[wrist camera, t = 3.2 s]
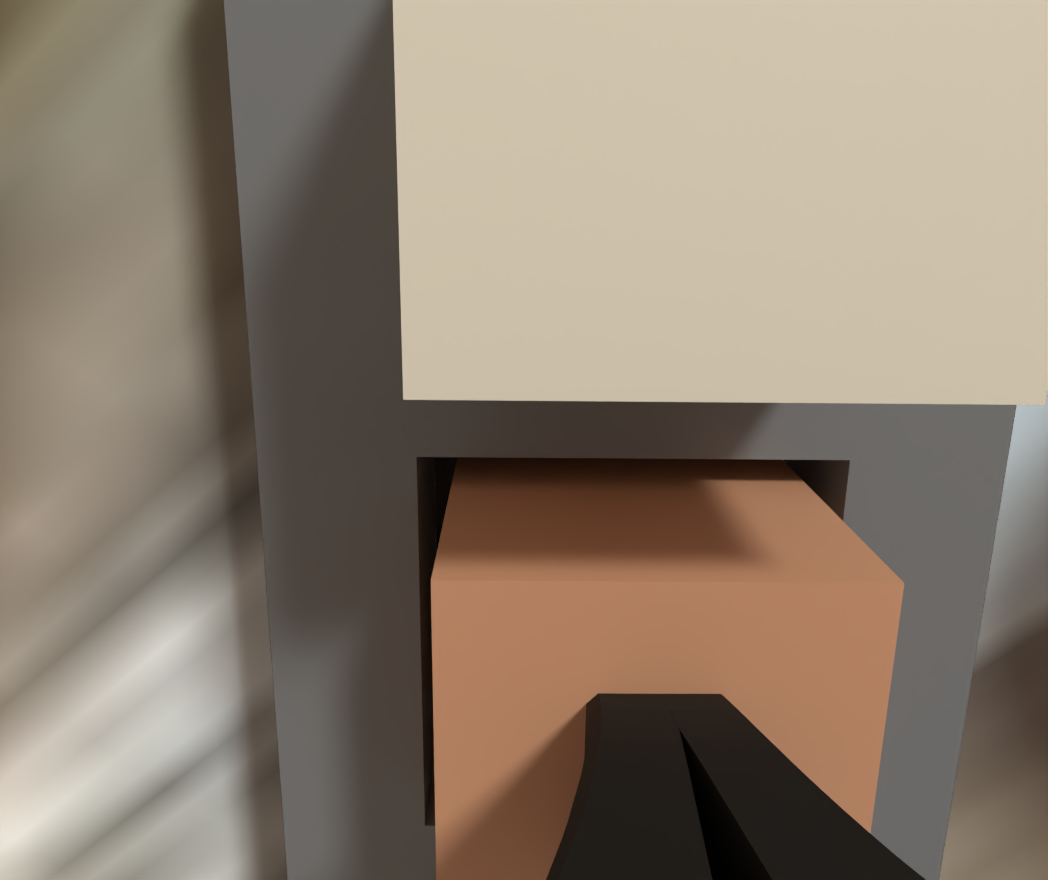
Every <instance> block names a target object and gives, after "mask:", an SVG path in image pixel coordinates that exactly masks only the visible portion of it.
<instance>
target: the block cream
mask: <svg viewBox="0 0 1048 880" xmlns="http://www.w3.org/2000/svg"><path fill="white" fill-rule="evenodd" d="M393 32H394V70H395V108H396V146H397V184H398V222H399V260H400V298H401V336H402V374H403V400H499V401H621V402H743V403H865V404H987V405H1045V402H1046V397H1047V391H1048V0H393Z"/></svg>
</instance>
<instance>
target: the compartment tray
mask: <svg viewBox="0 0 1048 880" xmlns="http://www.w3.org/2000/svg"><path fill="white" fill-rule="evenodd" d="M224 12H225V26H226V40H227V53H228V67H229V81H230V95H231V108H232V122H233V136H234V150H235V163H236V177H237V191H238V205H239V218H240V232H241V246H242V260H243V273H244V287H245V301H246V315H247V328H248V342H249V356H250V370H251V383H252V397H253V411H254V425H255V438H256V452H257V466H258V480H259V494H260V507H261V521H262V535H263V549H264V562H265V576H266V590H267V604H268V617H269V631H270V645H271V659H272V672H273V686H274V700H275V714H276V727H277V741H278V755H279V769H280V782H281V796H282V810H283V824H284V837H285V851H286V865H287V879H288V880H436V833H435V780H434V727H433V674H432V620H431V577H432V572H433V568H434V563H435V558H436V500H435V457H495V458H630V459H765V460H786V464H787V465H788V466H789V467H790V468H791V469H792V470H793V471H794V472H795V473H796V474H797V475H798V476H799V477H800V478H801V479H802V480H803V481H804V482H805V483H806V484H807V485H808V486H809V487H810V488H811V489H812V490H813V491H814V492H815V493H816V494H817V495H818V496H819V497H820V498H821V499H822V500H823V501H824V502H825V503H826V504H827V505H828V506H829V507H830V508H831V509H832V510H833V511H834V512H835V514H836V515H837V516H838V517H839V518H840V519H841V520H842V521H843V522H844V523H845V524H846V525H847V526H848V527H849V528H850V529H851V530H852V531H853V532H854V533H855V534H856V535H857V536H858V537H859V538H860V539H861V540H862V541H863V542H864V543H865V544H866V545H867V546H868V547H869V548H870V549H871V550H872V551H873V552H874V553H875V554H876V555H877V556H878V557H879V558H880V559H881V560H882V561H883V562H884V563H885V564H886V565H887V566H888V567H889V568H890V569H891V570H892V571H893V572H894V573H895V574H896V575H897V576H898V577H899V578H900V579H901V580H902V581H903V582H904V591H903V598H902V605H901V613H900V620H899V627H898V635H897V642H896V649H895V657H894V664H893V671H892V679H891V686H890V693H889V701H888V708H887V715H886V723H885V730H884V737H883V745H882V752H881V760H880V767H879V774H878V782H877V789H876V796H875V804H874V811H873V818H872V826H871V833H870V834H872V835H873V836H874V837H875V838H876V839H877V840H878V841H880V842H881V843H882V844H883V845H884V846H885V847H887V848H888V849H889V850H890V851H891V852H892V853H894V854H895V855H896V856H897V857H898V858H900V859H901V860H902V861H903V862H905V863H906V864H907V865H908V866H910V867H911V868H912V869H913V870H915V871H916V872H917V873H918V874H919V875H921V876H922V877H923V878H924V879H926V880H939V876H940V870H941V864H942V858H943V852H944V846H945V839H946V833H947V827H948V821H949V815H950V809H951V803H952V797H953V790H954V784H955V778H956V772H957V766H958V760H959V754H960V748H961V741H962V735H963V729H964V723H965V717H966V711H967V705H968V699H969V692H970V686H971V680H972V674H973V668H974V662H975V656H976V649H977V643H978V637H979V631H980V625H981V619H982V613H983V607H984V600H985V594H986V588H987V582H988V576H989V570H990V564H991V558H992V551H993V545H994V539H995V533H996V527H997V521H998V515H999V509H1000V502H1001V496H1002V490H1003V484H1004V478H1005V472H1006V466H1007V459H1008V453H1009V447H1010V441H1011V435H1012V429H1013V423H1014V417H1015V410H1016V405H987V404H865V403H743V402H621V401H499V400H403V374H402V336H401V298H400V260H399V222H398V184H397V146H396V108H395V70H394V32H393V0H224Z"/></svg>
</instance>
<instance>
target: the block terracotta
mask: <svg viewBox="0 0 1048 880" xmlns="http://www.w3.org/2000/svg"><path fill="white" fill-rule="evenodd" d="M903 591H904V582H903V581H902V580H901V579H900V578H899V577H898V576H897V575H896V574H895V573H894V572H893V571H892V570H891V569H890V568H889V567H888V566H887V565H886V564H885V563H884V562H883V561H882V560H881V559H880V558H879V557H878V556H877V555H876V554H875V553H874V552H873V551H872V550H871V549H870V548H869V547H868V546H867V545H866V544H865V543H864V542H863V541H862V540H861V539H860V538H859V537H858V536H857V535H856V534H855V533H854V532H853V531H852V530H851V529H850V528H849V527H848V526H847V525H846V524H845V523H844V522H843V521H842V520H841V519H840V518H839V517H838V516H837V515H836V514H835V512H834V511H833V510H832V509H831V508H830V507H829V506H828V505H827V504H826V503H825V502H824V501H823V500H822V499H821V498H820V497H819V496H818V495H817V494H816V493H815V492H814V491H813V490H812V489H811V488H810V487H809V486H808V485H807V484H806V483H805V482H804V481H803V480H802V479H801V478H800V477H799V476H798V475H797V474H796V473H795V472H794V471H793V470H792V469H791V468H790V467H789V466H788V465H787V464H786V463H785V462H784V461H783V460H765V459H630V458H495V457H457V461H456V465H455V470H454V475H453V479H452V484H451V489H450V493H449V498H448V503H447V507H446V512H445V516H444V521H443V526H442V530H441V535H440V540H439V544H438V549H437V554H436V558H435V563H434V568H433V572H432V577H431V620H432V674H433V727H434V780H435V833H436V880H546V878H547V876H548V873H549V871H550V868H551V866H552V863H553V860H554V858H555V855H556V853H557V850H558V848H559V845H560V842H561V840H562V837H563V834H564V831H565V828H566V825H567V822H568V819H569V815H570V812H571V808H572V805H573V801H574V798H575V794H576V791H577V787H578V784H579V780H580V777H581V773H582V768H583V763H584V756H585V726H586V703H588V702H589V701H590V700H591V699H592V698H593V697H595V696H596V695H597V694H598V693H617V694H722V695H723V696H724V697H725V698H726V699H727V700H728V701H730V702H731V703H732V704H733V705H734V706H735V707H736V708H737V709H738V710H739V711H740V712H741V713H742V714H743V715H744V716H745V717H746V718H747V719H748V720H749V721H750V722H751V723H752V724H753V725H754V726H755V727H756V728H757V729H758V730H759V731H760V732H761V733H762V734H764V735H765V736H766V737H767V738H768V739H769V740H770V741H771V742H772V743H773V744H774V745H775V746H776V747H777V748H778V749H779V750H780V751H781V752H782V753H783V754H784V755H785V756H786V757H787V758H788V759H789V760H790V761H791V762H792V763H794V764H795V765H796V766H797V767H798V768H799V769H800V770H801V771H802V772H803V773H804V774H805V775H806V776H807V777H808V778H809V779H810V780H812V781H813V782H814V783H815V784H816V785H817V786H818V787H819V788H820V789H821V790H822V791H823V792H824V793H826V794H827V795H828V796H829V797H830V798H831V799H832V800H833V801H834V802H835V803H837V804H838V805H839V806H840V807H841V808H842V809H843V810H844V811H845V812H846V813H848V814H849V815H850V816H851V817H852V818H853V819H854V820H855V821H857V822H858V823H859V824H860V825H861V826H862V827H863V828H865V829H866V830H867V831H868V832H869V833H871V826H872V818H873V811H874V804H875V796H876V789H877V782H878V774H879V767H880V760H881V752H882V745H883V737H884V730H885V723H886V715H887V708H888V701H889V693H890V686H891V679H892V671H893V664H894V657H895V649H896V642H897V635H898V627H899V620H900V613H901V605H902V598H903Z"/></svg>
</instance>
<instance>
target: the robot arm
mask: <svg viewBox="0 0 1048 880" xmlns="http://www.w3.org/2000/svg"><path fill="white" fill-rule="evenodd" d="M546 880H926V879H924V878H923V877H922V876H921V875H919V874H918V873H917V872H916V871H915V870H913V869H912V868H911V867H910V866H908V865H907V864H906V863H905V862H903V861H902V860H901V859H900V858H898V857H897V856H896V855H895V854H894V853H892V852H891V851H890V850H889V849H888V848H887V847H885V846H884V845H883V844H882V843H881V842H880V841H878V840H877V839H876V838H875V837H874V836H873V835H872V834H870V833H869V832H868V831H867V830H866V829H865V828H863V827H862V826H861V825H860V824H859V823H858V822H857V821H855V820H854V819H853V818H852V817H851V816H850V815H849V814H848V813H846V812H845V811H844V810H843V809H842V808H841V807H840V806H839V805H838V804H837V803H835V802H834V801H833V800H832V799H831V798H830V797H829V796H828V795H827V794H826V793H824V792H823V791H822V790H821V789H820V788H819V787H818V786H817V785H816V784H815V783H814V782H813V781H812V780H810V779H809V778H808V777H807V776H806V775H805V774H804V773H803V772H802V771H801V770H800V769H799V768H798V767H797V766H796V765H795V764H794V763H792V762H791V761H790V760H789V759H788V758H787V757H786V756H785V755H784V754H783V753H782V752H781V751H780V750H779V749H778V748H777V747H776V746H775V745H774V744H773V743H772V742H771V741H770V740H769V739H768V738H767V737H766V736H765V735H764V734H762V733H761V732H760V731H759V730H758V729H757V728H756V727H755V726H754V725H753V724H752V723H751V722H750V721H749V720H748V719H747V718H746V717H745V716H744V715H743V714H742V713H741V712H740V711H739V710H738V709H737V708H736V707H735V706H734V705H733V704H732V703H731V702H730V701H728V700H727V699H726V698H725V697H724V696H723V695H722V694H617V693H598V694H597V695H596V696H595V697H593V698H592V699H591V700H590V701H589V702H588V703H586V726H585V756H584V763H583V768H582V773H581V777H580V780H579V784H578V787H577V791H576V794H575V798H574V801H573V805H572V808H571V812H570V815H569V819H568V822H567V825H566V828H565V831H564V834H563V837H562V840H561V842H560V845H559V848H558V850H557V853H556V855H555V858H554V860H553V863H552V866H551V868H550V871H549V873H548V876H547V878H546Z"/></svg>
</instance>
